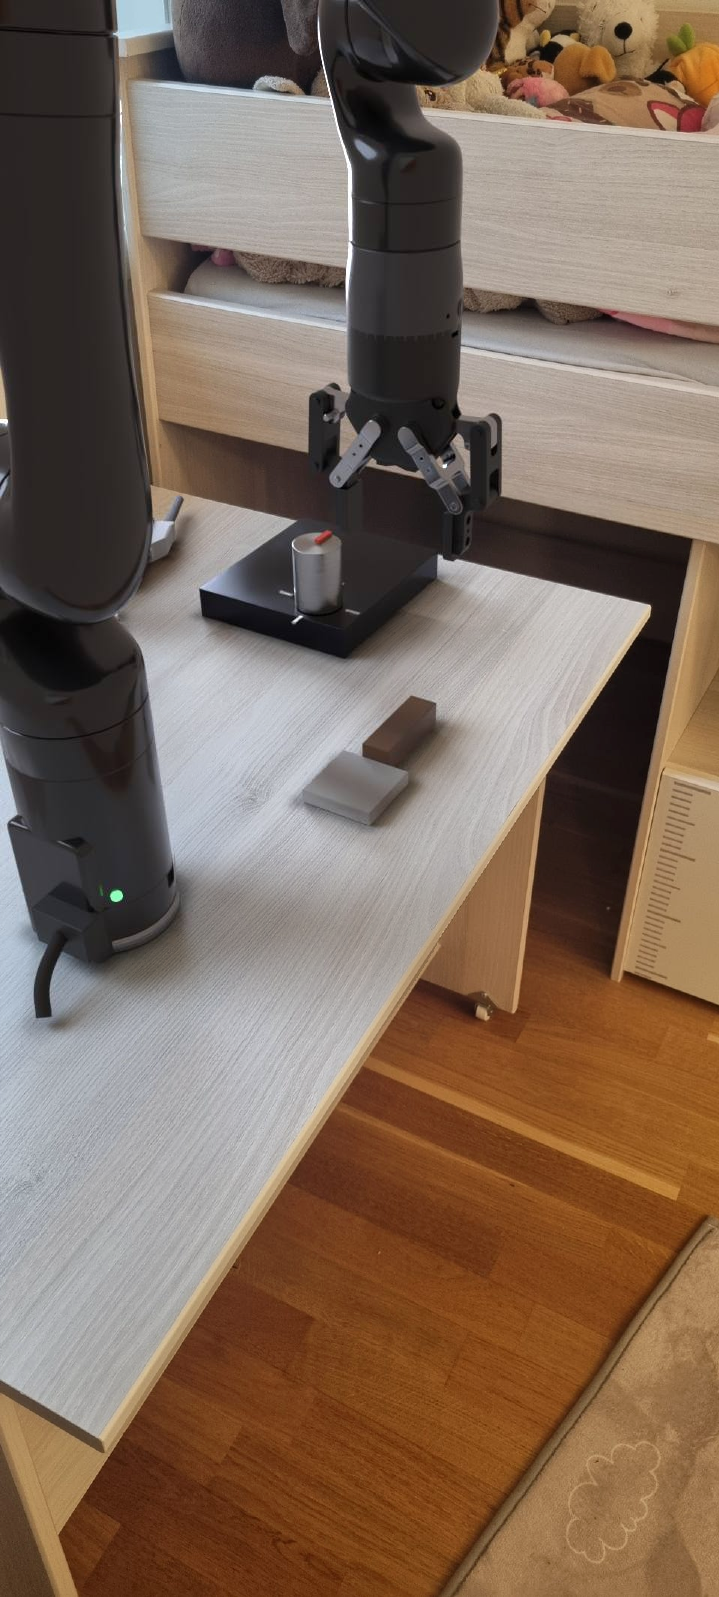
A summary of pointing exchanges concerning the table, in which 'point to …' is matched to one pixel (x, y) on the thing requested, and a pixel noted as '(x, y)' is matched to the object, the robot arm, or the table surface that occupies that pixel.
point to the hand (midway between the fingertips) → (401, 543)
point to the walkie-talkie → (165, 532)
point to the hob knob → (317, 573)
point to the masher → (373, 766)
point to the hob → (370, 579)
